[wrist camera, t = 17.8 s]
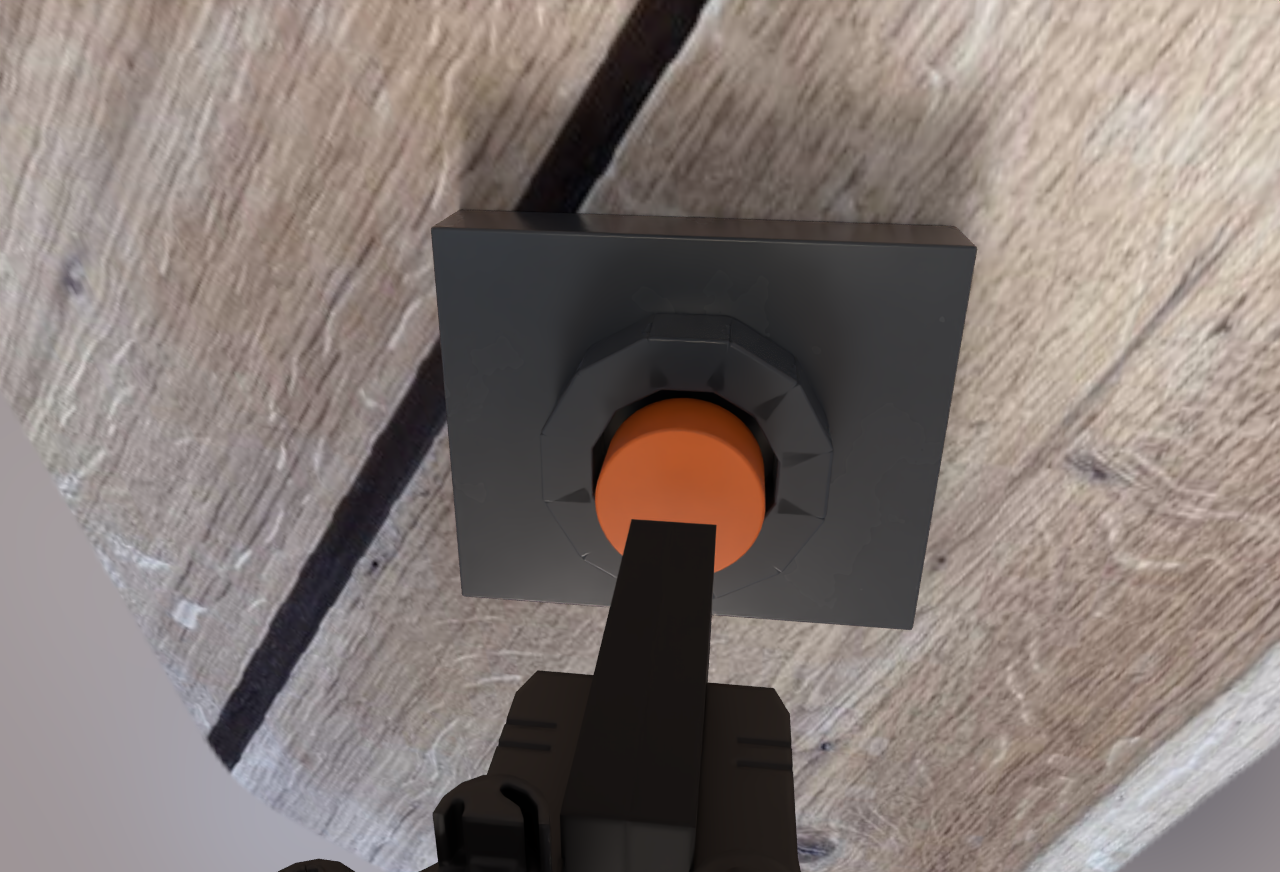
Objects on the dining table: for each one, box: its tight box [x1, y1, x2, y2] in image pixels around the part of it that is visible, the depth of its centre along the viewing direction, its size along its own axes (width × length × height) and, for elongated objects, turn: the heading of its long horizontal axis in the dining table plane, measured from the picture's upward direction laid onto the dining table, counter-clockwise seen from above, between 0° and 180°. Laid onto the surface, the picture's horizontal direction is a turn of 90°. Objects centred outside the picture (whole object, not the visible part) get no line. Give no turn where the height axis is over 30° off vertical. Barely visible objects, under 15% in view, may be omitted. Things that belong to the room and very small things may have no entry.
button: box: [595, 398, 765, 573], centre depth 20 cm, size 4×4×2 cm
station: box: [431, 210, 977, 630], centre depth 22 cm, size 12×10×4 cm
